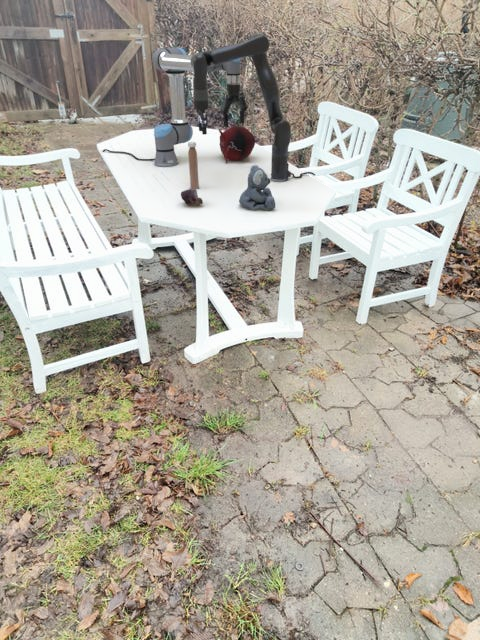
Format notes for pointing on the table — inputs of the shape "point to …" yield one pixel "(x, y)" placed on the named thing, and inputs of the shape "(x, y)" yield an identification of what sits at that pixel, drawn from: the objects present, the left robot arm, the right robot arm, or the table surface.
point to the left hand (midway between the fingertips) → (234, 125)
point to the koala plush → (257, 191)
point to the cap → (191, 144)
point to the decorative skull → (236, 143)
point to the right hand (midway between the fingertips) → (202, 132)
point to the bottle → (193, 168)
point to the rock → (191, 197)
